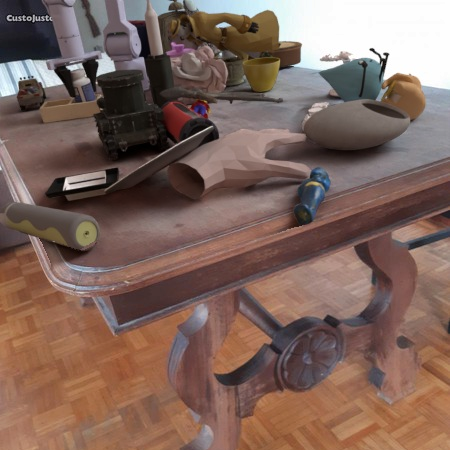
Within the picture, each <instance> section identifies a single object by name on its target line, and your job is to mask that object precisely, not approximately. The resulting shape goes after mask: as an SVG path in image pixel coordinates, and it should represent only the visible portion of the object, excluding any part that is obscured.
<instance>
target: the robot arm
mask: <svg viewBox="0 0 450 450" xmlns="http://www.w3.org/2000/svg"><path fill="white" fill-rule="evenodd" d="M41 3H42V4H43V6H45V9H46V11H47V14H48V15H49V17H51V21H52V25H53V28H54V33H55V35H56V40H57V43H58V47H59V51H60V55H61V56H60V57H57V58H54V59H51V60H47V61H45V64H46V68H47V71H53V72H54V73H55V75H56V76H57V77H58V79H59V80H60V81H61V83H62V84H63V85H64V87H65V89H66V91H67V93H68V96H69V98H74V97H76V95H75V91H74V87H73V84H72V78H71V71H72V70H71V69H70V68H68V67H71V66H74V65H79V64H81V65H82V69H84V72H85V77H88V78H89V79H90V81H91V85H92V88H93V91H94V93H97V83H96V77H97V76H98V70H99V66H100V64H99V61H100V60H103V56H102V51H101V50H93V51H92V50H91V51H87V52H86V51H85V49H84V45H83V40H82V37H81V33H80V29H79V25H78V21H77V17H76V13H75V8H74V4H75V3H76V0H41ZM104 4H105V11H106V15H107V21H108V22H107V24H106V26H104V28H103V30H102V32H103V44H102V45H103V50H104V52H105V54H106V56H107V57H108V58H110V61H112V62H113V67H114V71H117V70H131V69H138V70H142V71H143V75H144V80H143V81H142V86H143V91H144V92H145V91H150V83H149V78H148V72H146V67H145V61H144V57H139V54H140V52H141V42H140V39H139V36H138V33H137V28H136V27H135V26H134V25H132V24H131V23H129V22H128V21H129V20H127V16H126V15H127V14H126V8H125V2H124V0H104ZM116 32H125V33H127V34H115V33H116ZM97 60H99V61H97Z"/></svg>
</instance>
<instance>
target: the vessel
mask: <svg viewBox="0 0 450 450" xmlns="http://www.w3.org/2000/svg"><path fill="white" fill-rule="evenodd" d="M220 58H221V60H223V61H224V62H225V65H226V68H227V71H228V76H227V80H226V84H225V85H226V87H227V86H235V85H241V84H242V83H244V82H245V79H244V76H245V73H244V69H243V64H242V63H243V60H244V58H243V60H240V59H239V58H238V57H237V56H236V57H226V58H222V57H220ZM218 60H219V59H218Z"/></svg>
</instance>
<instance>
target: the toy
mask: <svg viewBox="0 0 450 450" xmlns="http://www.w3.org/2000/svg"><path fill="white" fill-rule="evenodd" d="M368 50H369V51H370V52H371V53H373V54H374V55H376V56H377V57H378V58H379V61H378V60H375V59H373V58H371V57H359V58H360V59H356V60H350V61H349V62H347V63H344V64H343V63H342V64H339V65H337V66H334V67H331V68H327V69H323V70H321V71H319V72H318V74H319V76H320V77H321V78H322V79H323V80H325V82H327V83H328V85H329V86H330V87H331V88H332V89H334V90H335V92H336V93H337V94H338V96H339V97H338V98H340V99H341V100H342V101H343V102H348V101H354V100H362V99H369V100H375V101H377V99H378V97H379V95H380V93H381V90H382V88H381V86H382V84H383V82H384V77H385V72H386V68H387V64H388V59H389V56H390V53H389V52H383V53H382V55H383V56H384V57H382V55H381V54H380V53H379V52H378V51H376V49H375V48H374V47H370V48H369V49H368Z"/></svg>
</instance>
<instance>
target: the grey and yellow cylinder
mask: <svg viewBox="0 0 450 450" xmlns="http://www.w3.org/2000/svg"><path fill="white" fill-rule="evenodd" d="M0 224H1V225H2V226H4V227H5V228H7V229H10V230H13V231H17V232H19V233H20V234H21V233H22V234H24V235H28V236H31V237H35V238H39V239H41V240H43V241H47V242H51V241H55V242H51V243H53V244H57V245H61V246H62V247H63V246H64V247H67V248H69V247H71V248H70V249H73V248H74V249H73V250H76V249H82V248H84V247H85V246H86V245H89V244H90V243H92V242H95V241H97V240H98V241H99V239H100V235H101V231H100V225H99V223H98V222H97V220H96V219H95V218H94V217H93V216H91V215H89V214H84V213H79V212H74V211H68V210H63V209H57V208H51V207H47V206H42V205H36V204H31V203H25V202H17V201H11V202H7V203H6V204H4V205H3V206H2V207H1V208H0ZM98 241H97V242H98ZM56 242H58V243H56ZM60 243H61V244H60ZM63 244H64V245H63ZM66 245H67V246H66ZM96 245H97V243H96V244H94V245H93V246H91V247H89V248H87V249H85V250H81V251H80V252H86V251H89V250H91V249H93V248H94V247H95V246H96Z"/></svg>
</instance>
